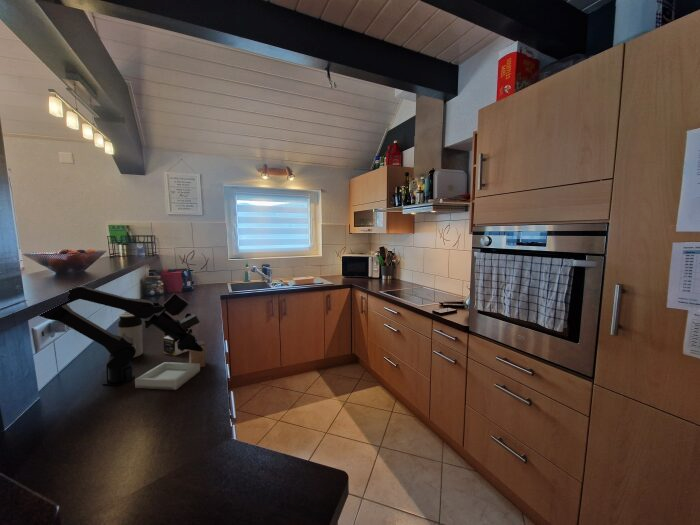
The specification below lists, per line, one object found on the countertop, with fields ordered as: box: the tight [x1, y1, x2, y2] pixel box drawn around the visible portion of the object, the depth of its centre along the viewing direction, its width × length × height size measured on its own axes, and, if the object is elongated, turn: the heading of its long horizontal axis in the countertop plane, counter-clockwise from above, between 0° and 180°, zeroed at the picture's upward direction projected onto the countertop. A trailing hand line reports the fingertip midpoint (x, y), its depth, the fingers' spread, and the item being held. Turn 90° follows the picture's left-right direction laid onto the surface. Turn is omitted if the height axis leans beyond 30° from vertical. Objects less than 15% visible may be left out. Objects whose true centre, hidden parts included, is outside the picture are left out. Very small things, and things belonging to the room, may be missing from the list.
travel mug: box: [117, 312, 144, 359], centre depth 122 cm, size 8×8×18 cm
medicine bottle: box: [163, 335, 189, 356], centre depth 128 cm, size 7×7×12 cm
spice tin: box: [188, 339, 206, 368], centre depth 114 cm, size 5×5×9 cm
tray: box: [134, 361, 201, 391], centre depth 102 cm, size 14×14×3 cm
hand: (201, 348), depth 115 cm, fingers closed on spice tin, 5 cm apart
